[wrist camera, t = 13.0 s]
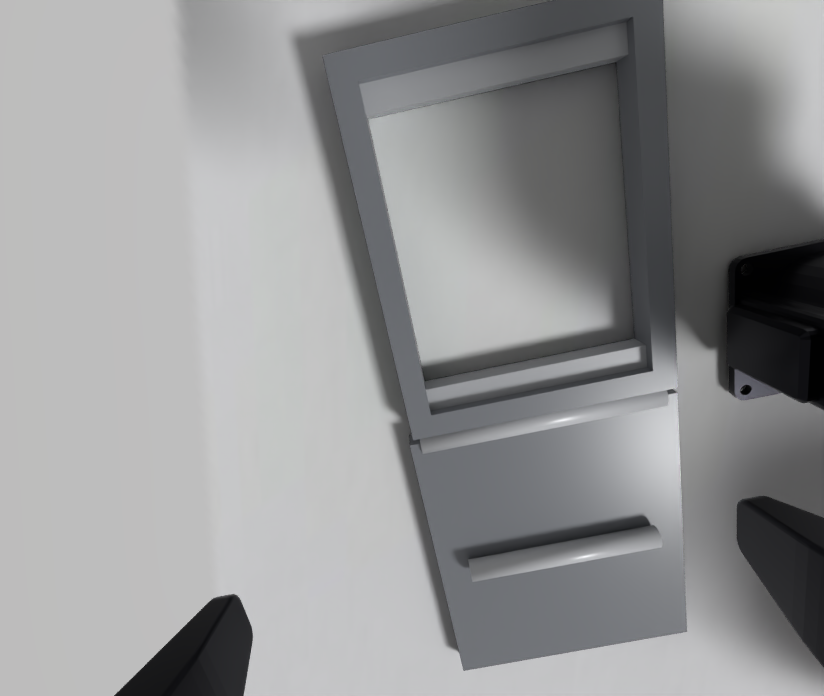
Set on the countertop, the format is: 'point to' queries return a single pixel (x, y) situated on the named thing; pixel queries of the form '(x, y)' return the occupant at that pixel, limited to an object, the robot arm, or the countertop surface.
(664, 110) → the grey flat frame
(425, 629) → the countertop surface
